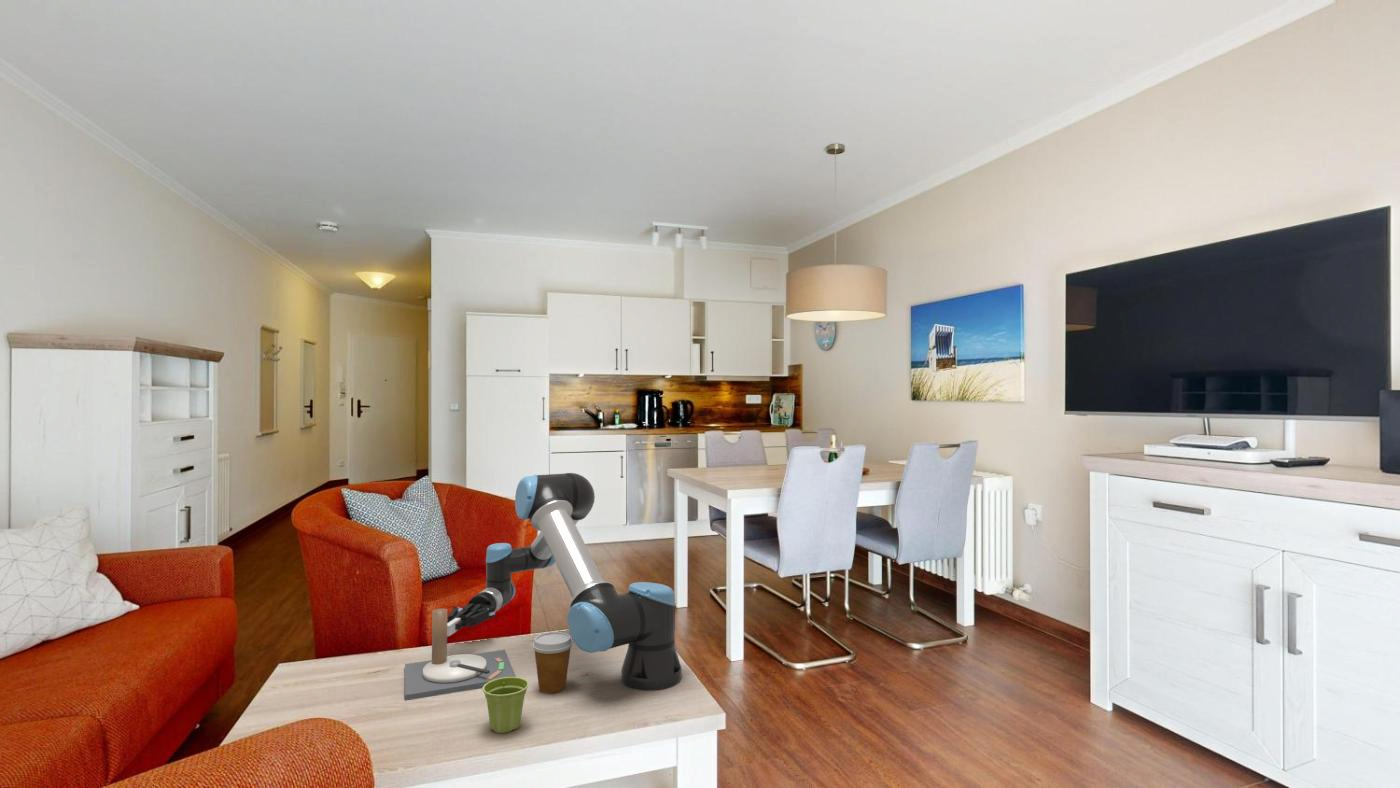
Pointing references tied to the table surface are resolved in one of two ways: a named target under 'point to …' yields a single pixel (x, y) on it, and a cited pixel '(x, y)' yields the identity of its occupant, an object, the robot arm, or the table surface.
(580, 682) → the table surface
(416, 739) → the table surface
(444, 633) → the post on round base
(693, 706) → the table surface
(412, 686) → the dial plate
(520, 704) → the plant pot
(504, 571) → the robot arm
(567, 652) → the disposable coffee cup
